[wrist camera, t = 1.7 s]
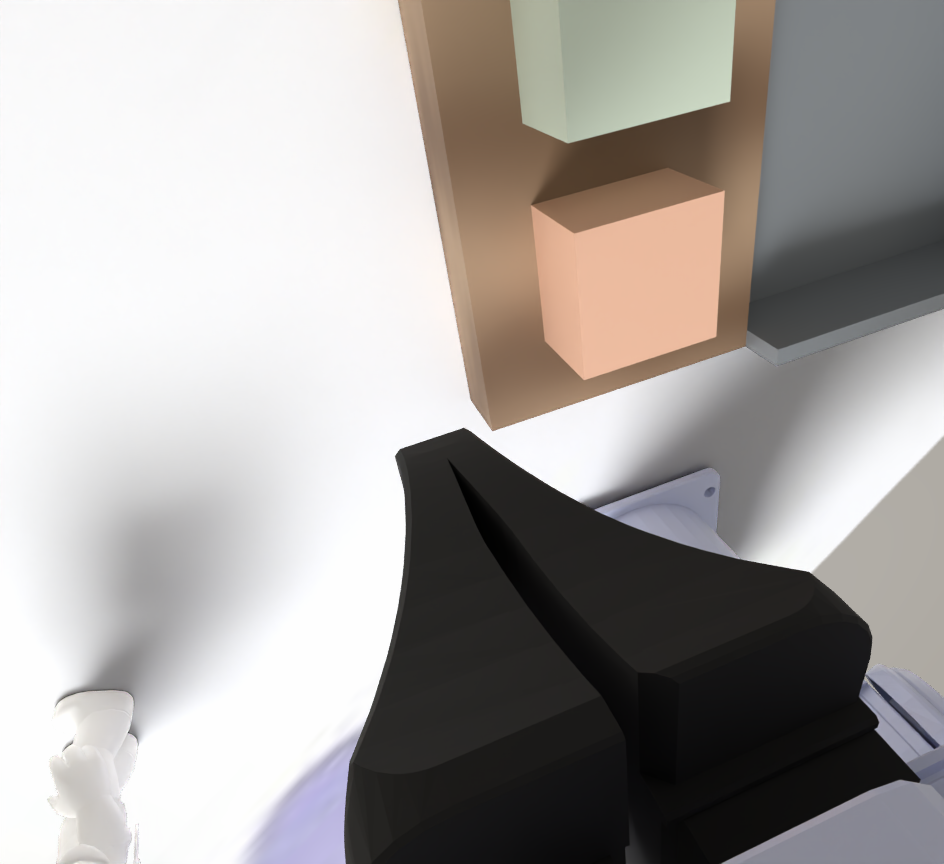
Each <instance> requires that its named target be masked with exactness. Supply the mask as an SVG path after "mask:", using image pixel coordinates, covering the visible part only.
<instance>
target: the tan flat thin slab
mask: <svg viewBox="0 0 944 864" xmlns="http://www.w3.org/2000/svg"><path fill="white" fill-rule="evenodd" d="M775 2H776V0H736V9H735V26H734V43H733V60H732V77H731V94H730V102H726V103H722V104H719V105H715V106H711V107H707V108H703V109H699V110H695V111H691V112H688V113H684V114H680V115H676V116H672V117H668V118H664V119H661V120H657V121H653V122H649V123H645V124H641V125H637V126H634V127H630V128H626V129H622V130H618V131H614V132H610V133H606V134H603V135H599V136H595V137H591V138H587V139H583V140H579V141H576V142H572V143H566V142H563V141H561V140H559V139H557V138H554V137H552V136H550V135H548V134H545V133H543V132H541V131H539V130H536V129H534V128H532V127H530V126H527V125H525V124H523V123H522V113H521V103H520V94H519V84H518V74H517V64H516V55H515V45H514V35H513V25H512V16H511V6H510V0H398V3H399V8H400V14H401V19H402V25H403V30H404V36H405V41H406V46H407V52H408V57H409V63H410V68H411V74H412V79H413V85H414V90H415V96H416V101H417V107H418V112H419V118H420V123H421V129H422V134H423V140H424V145H425V151H426V156H427V162H428V167H429V173H430V178H431V184H432V189H433V195H434V200H435V206H436V211H437V217H438V222H439V228H440V233H441V239H442V244H443V250H444V255H445V261H446V266H447V272H448V277H449V283H450V288H451V294H452V299H453V305H454V310H455V316H456V321H457V327H458V332H459V338H460V343H461V349H462V354H463V360H464V365H465V371H466V376H467V382H468V387H469V392H470V398H471V401H472V402H473V404H474V405H475V407H476V408H477V410H478V411H479V412H480V414H481V415H482V417H483V418H484V420H485V421H486V423H487V424H488V426H489V427H490V428H491V430H492V431H494V430H497V429H500V428H503V427H506V426H509V425H512V424H515V423H518V422H521V421H524V420H527V419H530V418H533V417H536V416H539V415H542V414H545V413H548V412H551V411H554V410H557V409H560V408H563V407H566V406H569V405H572V404H575V403H578V402H581V401H584V400H587V399H590V398H593V397H596V396H599V395H602V394H605V393H608V392H611V391H614V390H617V389H620V388H623V387H626V386H629V385H632V384H635V383H638V382H641V381H644V380H647V379H650V378H653V377H655V376H658V375H661V374H664V373H667V372H670V371H673V370H676V369H679V368H682V367H685V366H688V365H691V364H694V363H697V362H700V361H703V360H706V359H709V358H712V357H715V356H718V355H721V354H724V353H727V352H730V351H733V350H736V349H739V348H742V347H745V346H746V336H747V325H748V313H749V302H750V290H751V279H752V267H753V255H754V244H755V232H756V221H757V209H758V198H759V186H760V175H761V163H762V152H763V140H764V129H765V117H766V106H767V94H768V83H769V71H770V60H771V48H772V37H773V25H774V14H775ZM665 168H670V169H672V170H675V171H677V172H680V173H682V174H685V175H687V176H690V177H692V178H695V179H697V180H700V181H702V182H705V183H707V184H710V185H712V186H714V187H717V188H719V189H722V190H724V191H725V197H724V214H723V231H722V248H721V265H720V282H719V299H718V316H717V333H716V337H714V338H711V339H708V340H705V341H702V342H699V343H696V344H693V345H690V346H687V347H684V348H681V349H678V350H675V351H672V352H669V353H666V354H662V355H659V356H656V357H653V358H650V359H647V360H644V361H641V362H638V363H635V364H632V365H629V366H626V367H623V368H620V369H617V370H614V371H611V372H608V373H605V374H602V375H599V376H596V377H593V378H590V379H587V380H583V379H582V378H581V377H580V376H579V375H578V374H577V373H576V372H575V371H574V370H573V369H572V368H571V367H570V366H569V365H568V364H567V363H566V362H565V361H564V360H563V359H562V358H561V357H560V356H559V355H558V354H557V353H556V352H555V351H554V350H553V349H552V348H551V347H550V346H549V345H548V344H547V343H546V342H545V338H544V328H543V318H542V308H541V299H540V289H539V279H538V269H537V260H536V250H535V240H534V230H533V221H532V211H531V205H533V204H537V203H541V202H544V201H548V200H552V199H555V198H559V197H563V196H566V195H570V194H574V193H577V192H581V191H584V190H588V189H592V188H595V187H599V186H603V185H606V184H610V183H614V182H617V181H621V180H625V179H628V178H632V177H636V176H639V175H643V174H647V173H650V172H654V171H657V170H661V169H665Z"/></svg>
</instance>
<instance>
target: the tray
mask: <svg viewBox="0 0 944 864" xmlns="http://www.w3.org/2000/svg"><path fill="white" fill-rule="evenodd" d="M941 309H944V0H776V2H775V14H774V25H773V37H772V48H771V60H770V71H769V83H768V94H767V106H766V117H765V129H764V140H763V152H762V163H761V175H760V186H759V198H758V209H757V221H756V232H755V244H754V255H753V267H752V279H751V290H750V302H749V313H748V325H747V336H746V347H747V348H749V349H750V350H752V351H754V352H755V353H757V354H758V355H760V356H761V357H763V358H764V359H766V360H767V361H769V362H770V363H772V364H773V365H775V366H779V365H782V364H785V363H787V362H790V361H793V360H796V359H799V358H802V357H805V356H808V355H811V354H814V353H816V352H819V351H822V350H825V349H828V348H831V347H834V346H837V345H840V344H843V343H846V342H848V341H851V340H854V339H857V338H860V337H863V336H866V335H869V334H872V333H875V332H877V331H880V330H883V329H886V328H889V327H892V326H895V325H898V324H901V323H904V322H906V321H909V320H912V319H915V318H918V317H921V316H924V315H927V314H930V313H933V312H935V311H938V310H941Z"/></svg>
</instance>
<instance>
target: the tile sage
mask: <svg viewBox="0 0 944 864" xmlns="http://www.w3.org/2000/svg"><path fill="white" fill-rule="evenodd" d="M510 6H511V16H512V25H513V35H514V45H515V55H516V64H517V74H518V84H519V94H520V103H521V113H522V123H523V124H525V125H527V126H530V127H532V128H534V129H536V130H539V131H541V132H543V133H545V134H548V135H550V136H552V137H554V138H557V139H559V140H561V141H563V142H566V143H572V142H576V141H579V140H583V139H587V138H591V137H595V136H599V135H603V134H606V133H610V132H614V131H618V130H622V129H626V128H630V127H634V126H637V125H641V124H645V123H649V122H653V121H657V120H661V119H664V118H668V117H672V116H676V115H680V114H684V113H688V112H691V111H695V110H699V109H703V108H707V107H711V106H715V105H719V104H722V103H726V102H730V94H731V77H732V60H733V43H734V26H735V9H736V0H510Z"/></svg>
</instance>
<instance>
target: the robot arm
mask: <svg viewBox="0 0 944 864" xmlns="http://www.w3.org/2000/svg"><path fill="white" fill-rule="evenodd" d="M395 458H396V462H397V466H398V469H399V473H400V477H401V480H402V484H403V488H404V494H405V515H406V537H405V554H404V568H403V577H402V585H401V592H400V598H399V605H398V610H397V615H396V620H395V625H394V629H393V634H392V639H391V643H390V647H389V651H388V655H387V659H386V662H385V665H384V668H383V672H382V675H381V678H380V681H379V685H378V688H377V691H376V694H375V698H374V701H373V704H372V706H371V709H370V712H369V715H368V717H367V720H366V722H365V725H364V727H363V730H362V732H361V735H360V737H359V740H358V742H357V745H356V747H355V750H354V752H353V755H352V757H351V760H350V763H349V772H348V782H347V792H346V805H345V822H344V844H345V858H346V864H944V697H943V696H942V695H940V694H939V693H938V692H937V691H936V690H935V689H934V688H932V687H931V686H930V685H929V684H928V683H926V682H925V681H924V680H923V679H921V678H920V677H919V676H917V675H916V674H915V673H913V672H911V671H910V670H907V669H899V668H888V667H887V666H885V665H883V664H876V665H874V666H873V667H872V668H871V669H870V670H869V671H868V672H867V673H866V670H867V667H868V663H869V660H870V655H871V647H872V635H871V632H870V629H869V626H868V624H867V623H866V622H865V621H864V620H863V619H862V618H860V616H859V615H857V614H856V613H855V612H854V611H853V610H852V609H851V608H850V607H849V606H848V605H847V604H846V603H845V602H844V601H843V600H842V599H841V598H840V597H839V596H838V595H836V593H834V592H833V591H832V590H831V589H830V588H828V587H827V586H826V585H825V584H823V583H822V582H821V581H820V580H818V579H817V578H816V577H815V576H813V575H812V574H811V573H810V572H806V571H800V570H795V569H789V568H784V567H778V566H773V565H767V564H762V563H756V562H751V561H746V560H741V559H740V558H739V557H738V556H737V554H736V553H735V552H734V551H733V550H732V549H731V548H730V547H729V546H728V545H727V544H726V543H725V542H724V541H723V540H722V539H721V538H720V537H719V536H718V535H717V534H716V532H717V518H718V504H719V490H720V475H719V473H718V472H716V471H715V470H714V469H713V468H706V469H703V470H700V471H698V472H695V473H692V474H689V475H687V476H684V477H681V478H679V479H676V480H673V481H670V482H668V483H665V484H662V485H660V486H657V487H654V488H651V489H649V490H646V491H643V492H641V493H638V494H635V495H632V496H630V497H627V498H624V499H621V500H619V501H616V502H613V503H611V504H608V505H605V506H602V507H600V508H597V509H594V510H593V509H591V508H589V507H587V506H585V505H584V504H582V503H580V502H578V501H576V500H574V499H572V498H570V497H569V496H567V495H565V494H563V493H561V492H559V491H558V490H556V489H554V488H553V487H551V486H549V485H548V484H546V483H544V482H543V481H541V480H539V479H538V478H536V477H535V476H533V475H532V474H530V473H528V472H527V471H525V470H524V469H522V468H521V467H519V466H518V465H516V464H515V463H513V462H512V461H510V460H509V459H507V458H506V457H504V456H503V455H502V454H500V453H499V452H497V451H496V450H495V449H493V448H492V447H490V446H489V445H488V444H486V443H485V442H484V441H482V440H481V439H480V438H478V437H477V436H476V435H475V434H473V433H472V432H471V431H469V430H467V429H465V428H462V429H459V430H456V431H453V432H450V433H447V434H444V435H441V436H438V437H435V438H432V439H429V440H426V441H423V442H420V443H417V444H414V445H411V446H408V447H405V448H402V449H400V450H399V451H398V453H397V454H396V456H395ZM865 676H866V677H867V679H868V680H869V682H870V683H871V684H872V685H873V687H875V689H876V690H877V691H878V692H879V694H880V695H881V696H882V697H883V698H884V699H883V698H882V697H881V696H880V695H879V694H878V693H877V692H876V691H875V690H874V689H873V688H871V686H870V685H869V684H868V683H867V682H866V681H865V680H864V677H865Z"/></svg>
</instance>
